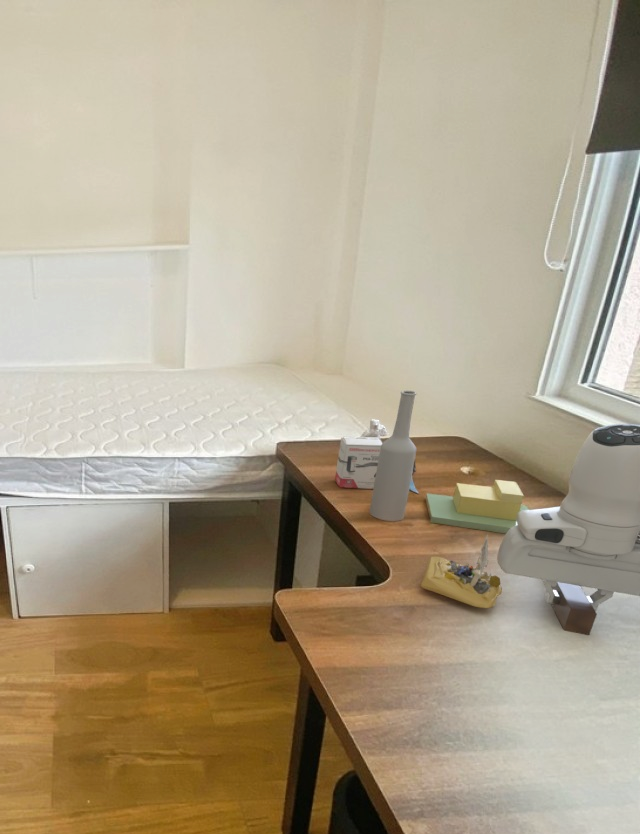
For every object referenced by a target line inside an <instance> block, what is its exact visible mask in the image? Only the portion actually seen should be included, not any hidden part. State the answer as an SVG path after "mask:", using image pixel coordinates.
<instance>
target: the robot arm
mask: <svg viewBox="0 0 640 834" xmlns="http://www.w3.org/2000/svg"><path fill="white" fill-rule="evenodd" d="M517 524H518V525H516V526H514V527H512V528H511V529H509V530H508V532H507V533H505V534H504V536H503V539H502V540H501V543H500V546H499V549H498V551H497V555H496V561H497V565H498V567H499V568H500V570H501V571H502V572H504V573H505V574H507V575H508V574H509V575H514V576H520V577H526V578H532V579H538V580H542V583H543V586H544V587H545V589H546V591H545V595H544V601H545V602H546V603H547V604H550V605H551V604H556V605H559V604H560V602H559V601H561V598H562V597H561V595H560V593H559V591H557V590H553V589H552V587H551V586H554V587H555V586H556V585H557V582H560V583H566V584H572V585H578V586H581V587H585V588H591V589H595V590H596V591H595V592H593V593H592V594H590V595H586V596H587V598H588V600H589V601H590V603H591V605H592V606H593V608H594V610H595V612H596V613H597V610H598V607H599V605H601V604H603V603H604V602H606V601H608V600H609V599H611V598H613V595H614V593H619V594H625V595H630V596H637V597H640V535H639V534H640V424H633V423H629V424H628V423H615V424H609V425H603V426H600V427H597V428H595V429H594V430H592V431H590V433H589V434H588V436H587V437H586V438H585V440H584V441H583V442H582V445H581V446H580V448H579V451H578V452H577V455H576V457H575V459H574V461H573V465H572V467H571V470H570V473H569V477H568V492H567V494H566V495H565V497H564V498H563V500H562V501H561V503H560V506H559V505H558V506H553V507H545V508H535V509H529V510H523V511H520V512H519V513H518V514H517Z"/></svg>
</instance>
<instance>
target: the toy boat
mask: <svg viewBox="0 0 640 834" xmlns="http://www.w3.org/2000/svg"><path fill="white" fill-rule="evenodd" d="M453 538H454V537H453V536H451V539H453ZM479 555H480V557H478V559H477V562H476V565H477V566H476V567H475V568H474V566H473V565H470V564H469V563H465V565H462V564H459V563H457V562H456V561H454V560H449V559H446V558H445V557H441V556H430V558H429V559H428V562H427V565H426V568H425V571H424V575H423V577H422V580H421V583H420V587H421V588H422V589H425V590H427V591H431V592H433V593H435V594H439V595H442V596H444V597H447V598H449V599H452V600H455V601H457V602H461V603H464V604H466V605H469V606H472V607H475V608H481V609H489V608H493V607H494V606H495V605H496V602H497V600H498V596H500V595H501V594H502V593H503V587H502V585H501V578H500V577H499V576H497V575H492V573H489V575H488V572H487V571H484V569H485V568H487V567H488V565H489V533H487V535H486V537H485V539H484V542H483V544H482V546H481V548H480V554H479Z"/></svg>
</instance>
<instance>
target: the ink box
mask: <svg viewBox="0 0 640 834" xmlns="http://www.w3.org/2000/svg"><path fill="white" fill-rule="evenodd" d="M383 442H384V441H383V440H382V439H381V438H380V439H379V438H377V437H361V436H343V437H341V438H340V444H339V449H338V457H337V462H336V463H337V465H336V468H335V469H336V470H335V476H334V480H335V482H336V484H337V486H338V487H339V488H343V489H366V490H367V489H368V490H369V489H370V490H373V488H374V482H375V477H376V471H377V466H378V460H379V455H380V449H381V445H382V443H383Z"/></svg>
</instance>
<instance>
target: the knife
mask: <svg viewBox="0 0 640 834" xmlns="http://www.w3.org/2000/svg"><path fill="white" fill-rule="evenodd" d="M416 472H417V469H416V459H415V460H414V466H413V472H412V474H414V473H416ZM409 491H411V492H414V493H416V494H417V495H419V494H420V493H419V491H418V490H417V488H416V486H415V483H414V480H413V476H412V477H411V483H410V488H409Z"/></svg>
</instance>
